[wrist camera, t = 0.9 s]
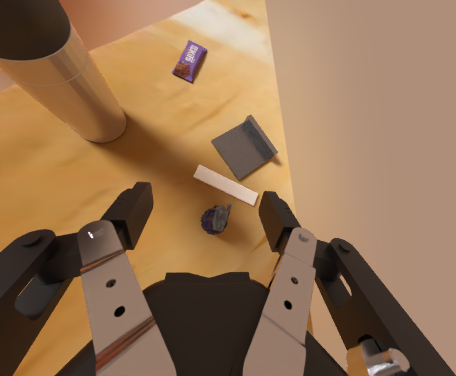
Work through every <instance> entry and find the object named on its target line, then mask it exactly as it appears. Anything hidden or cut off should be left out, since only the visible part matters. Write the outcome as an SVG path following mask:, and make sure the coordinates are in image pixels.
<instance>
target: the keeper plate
mask: <svg viewBox="0 0 456 376" xmlns="http://www.w3.org/2000/svg"><path fill="white" fill-rule="evenodd" d="M211 142H212V144H213V145H214V147H215V148H216V150H217V151H218V152H219V154H220V155H221V157H222V158H223V159H224V161H225V162H226V164H227V165H228V167H229V168H230V169H231V171H232V172H233V174H234V175H235V176H236V178H237V179H238V180H240V179H241V178H243V177H244V176H245V175H247V174H248V173H250V172H251V171H253V170H254V169H256V168H257V167H259V166H260V165H261V164H263V163H264V162H266V161H267V160H269V159H270V158H272V157H273V156H274V155H275V154H277V153H278V151H277V150H276V149H275V147H274V146H273V144H272V143H271V142H270V140H269V139H268V137H267V136H266V135H265V133H264V132H263V131H262V129H261V128H260V126H259V125H258V124H257V122H256V121H255V119H254V118H253V117H252V115H249V116H247V118H246V120H245V121H244V123H242V124H240V125H238V126H237V127H235V128H233V129H231V130H229V131H228V132H226V133H224V134H222V135H220V136H219V137H217V138H215V139H213V140H212V141H211Z"/></svg>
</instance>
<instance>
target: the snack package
mask: <svg viewBox="0 0 456 376" xmlns="http://www.w3.org/2000/svg"><path fill="white" fill-rule="evenodd" d="M206 51H207V49H205V48H204V47H202V46H199V45H198V44H196V43H194V42H192V41H190V40H189V41H188V44H187V46H186V48H185V50H184V52H183V53H182V55H181V57H180V59H179V61H178V63H177V65H176V67H175V69H174V70H173V71H172V73H173V74H176V75H178V76H180V77H182V78H184V79H186V80H188V81H191V82H192V80H193V75H194V73H195V71H196V69H197V67H198V65H199V63H200V61H201V59H202V57H203V55H204V53H205V52H206Z"/></svg>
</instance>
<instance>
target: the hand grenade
mask: <svg viewBox="0 0 456 376" xmlns="http://www.w3.org/2000/svg"><path fill="white" fill-rule="evenodd" d="M229 205H230V206H229ZM228 209H229V210H228ZM230 209H231V204H228V207H227V210H226V209H225V207H223V206H220V205H215V206H214V208H213V209H212V208H211V209H208V210H207V211H205V214H203V215H202V217H201V222H202V224H201V226H202V228H203V229H204V231H207V233H209V234H212V235H215V234H219V233H221V232H223V231H224V228H226V226H227V219H228V216H229V214H230V213H229V212H230Z"/></svg>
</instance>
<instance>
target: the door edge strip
mask: <svg viewBox="0 0 456 376" xmlns="http://www.w3.org/2000/svg"><path fill="white" fill-rule="evenodd" d="M193 177H194V178H196V179H198V180H200V181H202V182H204V183H206V184H208V185H210V186H212V187H214V188H216V189H218V190H221V191H223V192H225V193H227V194H229V195H231V196H233V197H235V198H237V199H239V200H241V201H243V202H245V203H247V204H249V205H251V206H254V204H255V201H256V198H257V196H258V193H256V192H254V191H252V190H250V189H248V188H246V187H244V186H242V185H240V184H238V183H236V182H234V181H232V180H230V179H228V178H226V177H224V176H222V175H220V174H218V173H216V172H214V171H212V170H210V169H208V168H206V167H204V166H202V165H200V164H199V166H198V168H197V170H196V172H195V174H194V176H193Z"/></svg>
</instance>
